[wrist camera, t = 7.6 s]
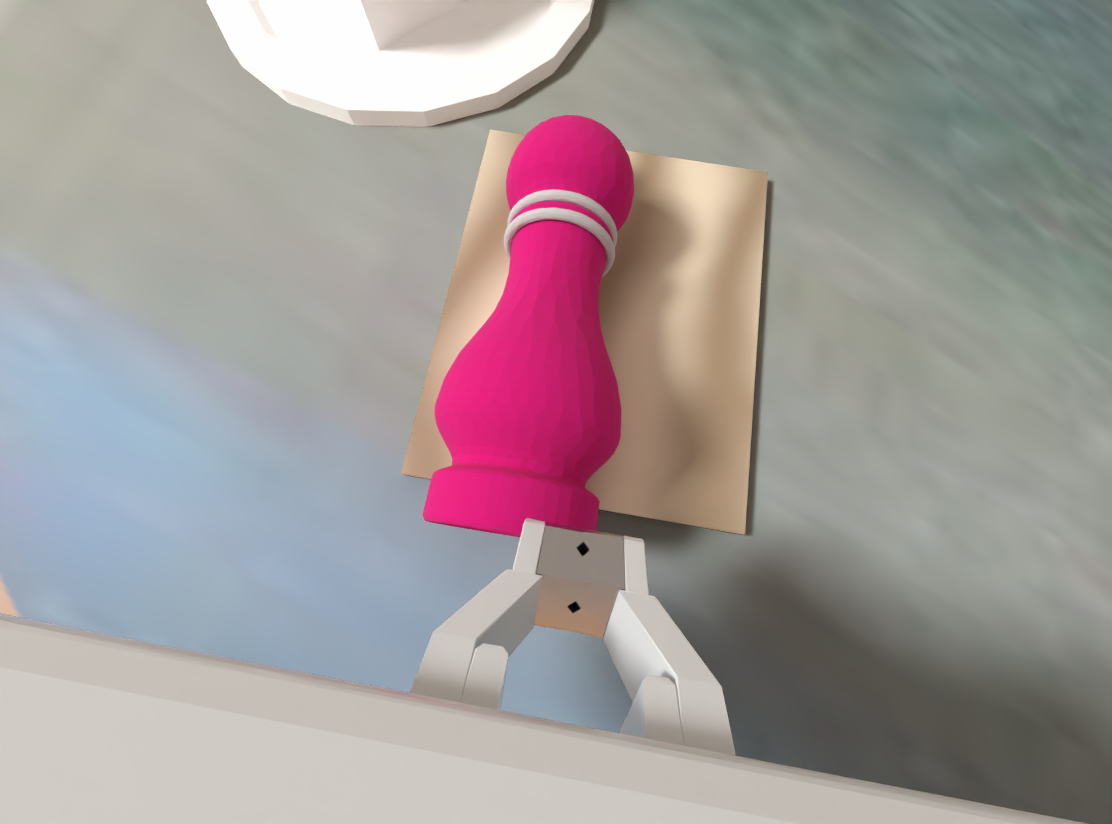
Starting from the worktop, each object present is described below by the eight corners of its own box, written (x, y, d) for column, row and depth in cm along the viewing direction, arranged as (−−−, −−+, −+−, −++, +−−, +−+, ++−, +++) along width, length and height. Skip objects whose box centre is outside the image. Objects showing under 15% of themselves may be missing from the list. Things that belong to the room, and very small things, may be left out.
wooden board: (762, 180, 25) (767, 172, 24) (739, 534, 20) (744, 534, 20) (491, 138, 25) (490, 129, 25) (405, 475, 21) (400, 473, 20)
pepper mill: (651, 556, 14) (688, 108, 20) (434, 520, 11) (553, 4, 17) (548, 542, 20) (600, 202, 26) (391, 516, 17) (489, 138, 23)
